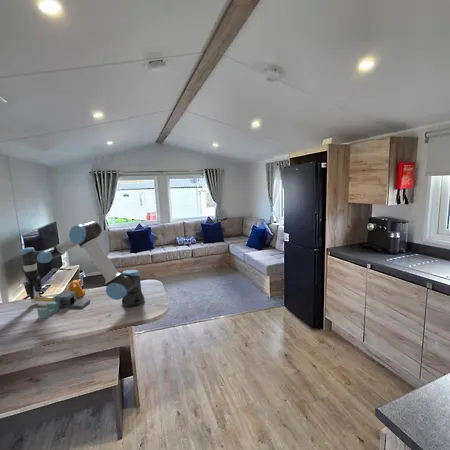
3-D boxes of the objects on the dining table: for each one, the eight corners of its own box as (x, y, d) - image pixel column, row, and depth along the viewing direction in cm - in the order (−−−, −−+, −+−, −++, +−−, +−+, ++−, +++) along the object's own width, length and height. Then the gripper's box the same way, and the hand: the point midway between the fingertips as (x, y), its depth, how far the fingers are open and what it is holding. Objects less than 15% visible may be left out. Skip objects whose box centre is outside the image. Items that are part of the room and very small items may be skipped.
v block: (58, 309, 181) (57, 302, 180) (47, 317, 171) (46, 309, 170) (50, 309, 181) (49, 302, 180) (38, 317, 171) (37, 309, 170)
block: (90, 302, 191) (88, 291, 189) (82, 308, 182) (80, 297, 181) (65, 301, 193) (63, 291, 191) (56, 307, 184) (54, 296, 182)
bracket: (85, 292, 207) (83, 277, 205) (83, 296, 201) (81, 281, 198) (69, 294, 204) (67, 279, 202) (67, 298, 197) (65, 283, 195)
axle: (58, 300, 190) (57, 296, 189) (55, 302, 187) (54, 298, 186) (34, 299, 192) (33, 296, 191) (31, 302, 189) (30, 298, 188)
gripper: (35, 265, 194) (39, 296, 198) (15, 274, 178) (21, 306, 182) (44, 266, 193) (49, 296, 197) (26, 274, 177) (31, 307, 182)
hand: (36, 301), depth 190 cm, fingers closed on axle, 3 cm apart
